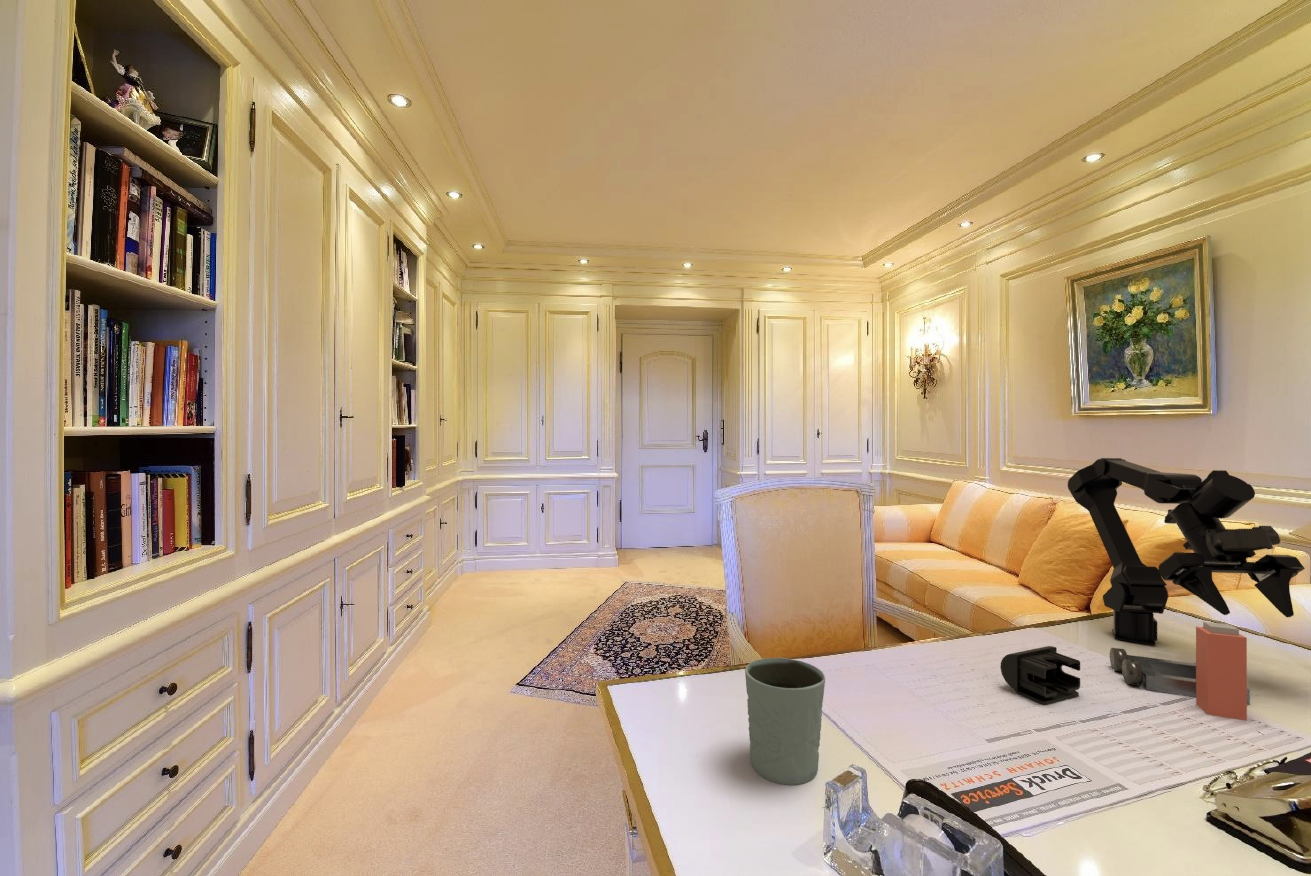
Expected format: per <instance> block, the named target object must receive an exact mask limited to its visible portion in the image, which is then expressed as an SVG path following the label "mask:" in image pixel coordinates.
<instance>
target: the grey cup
mask: <svg viewBox="0 0 1311 876" xmlns="http://www.w3.org/2000/svg"><path fill="white" fill-rule="evenodd" d="M744 672H745V673H744V675H745V676H744V677H745V688H746V694H747V715H748V719H747V720H748V725H749V726H748V732H749V733H748V734H749V735H748V736H749V755H750V756H749V757H750V758H749V759H750V763H751V766H752V768H753V770H754V771H755V773H757V774H758V776H760V777H761V778H764V779H766V780H768V781H770V782H773V783H775V784H780V785H788V786H795V785H802V784H803V785H804V784H806V783H808V782H810V781H812V780H813V779H814V778H815V777H816V776H817V774H818V771H819V762H820V761H819V760H820V753H819V749H820V746H821V743H820V742H821V731H822V717H823V706H824V705H823V703H824V693H825V686H826V676H825V673H824V672H823V671H822V670H821V669H820V668H818V667H816V666H815V665H812V664H811V663H808V662H805V661H803V660H799V659H798V660H797V659H793V658H786V657H768V658H766V657H765V658H760V659H756V660H753V661H751V662H749V663H748V664H747V665H746V666H745V669H744Z"/></svg>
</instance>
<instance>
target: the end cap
mask: <svg viewBox="0 0 1311 876" xmlns="http://www.w3.org/2000/svg"><path fill="white" fill-rule="evenodd" d="M999 666H1000V672H1001V676H1002V678H1003V679H1004V681H1005V683H1006V684H1007V686H1009V687H1010V688H1011V689H1012V690H1013V691H1014V692H1015V693H1016V694H1017V695H1019V696H1021V697H1023V698H1025V699H1028V700H1030V701H1032V702H1034V703H1037V704H1039V705H1042V706H1048V705H1052V704H1056V703H1059V702H1063V701H1067V700H1066V699H1068V700H1070V699H1074V698H1078V697H1080V695H1079V691H1078V690H1079V689H1080V687H1081V677H1079V676H1075V675H1072V674H1070V673H1067V672H1065V671H1064V670H1063V668H1062V667H1063V666H1065V667H1067V668H1070V669H1073V670H1075V671H1078V672H1079V671H1081V661H1080V660H1079V659H1076V658H1073V657H1071V656H1067V655H1064V654H1062V653H1058V652H1057V647H1056V646H1053V645H1051V646H1050V645H1046V646H1043V647H1037V648H1033V649H1032V648H1031V649H1026V650H1022V651H1017V652H1013V653H1009V654H1006V655H1004V657H1002V659H1001V662H1000V665H999Z"/></svg>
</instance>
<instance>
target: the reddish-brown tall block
mask: <svg viewBox="0 0 1311 876" xmlns="http://www.w3.org/2000/svg"><path fill="white" fill-rule="evenodd" d="M1239 630H1240V629H1239V628H1237V627H1235V626H1234V625H1231V624H1226V623H1218V622H1209V621H1208V622H1207V621H1202V626H1195V663H1196V697H1195V705H1196V706H1197V707H1199V708H1200V709H1201V710H1202V711H1203V712H1204V713H1205V714H1207V715H1209V716H1216V717H1221V718H1228V719H1229V718H1230V719H1235V720H1242V721H1247V720H1248V705H1247V688H1248V683H1247V682H1248V674H1247V673H1248V668H1247V666H1248V664H1247V663H1248V659H1247V658H1248V655H1247V654H1248V653H1247V652H1248V651H1247V650H1248V648H1247V647H1248V644H1247V642H1248V639H1247V637H1246V636H1244V635H1242V634H1240V631H1239Z"/></svg>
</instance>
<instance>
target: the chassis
mask: <svg viewBox="0 0 1311 876" xmlns="http://www.w3.org/2000/svg"><path fill="white" fill-rule="evenodd" d="M1109 663H1110V666H1111V668H1112V670H1113V669H1114V670H1115V672H1122V677H1123V678H1122V679H1123V680H1124V683H1126V685H1133V686H1141V687H1142V688H1143V689H1145V690H1146V691H1150V692H1156V691H1158V693H1163V692H1164V694H1170V693H1171V694H1172V695H1179V696H1184V697H1185V696H1186V697H1190V698H1192V697H1193V698H1196V662H1195V663H1193V662H1187V661H1179V660H1170V659H1163V658H1157V657H1156V658H1155V657H1147V656H1138V655H1131V654H1128V653H1127V651H1126V650H1125V649H1124V648H1118V647H1111V648H1110V650H1109ZM1114 670H1113V671H1114ZM1250 705H1251V689H1250V688H1248V687H1247V706H1250Z"/></svg>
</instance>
